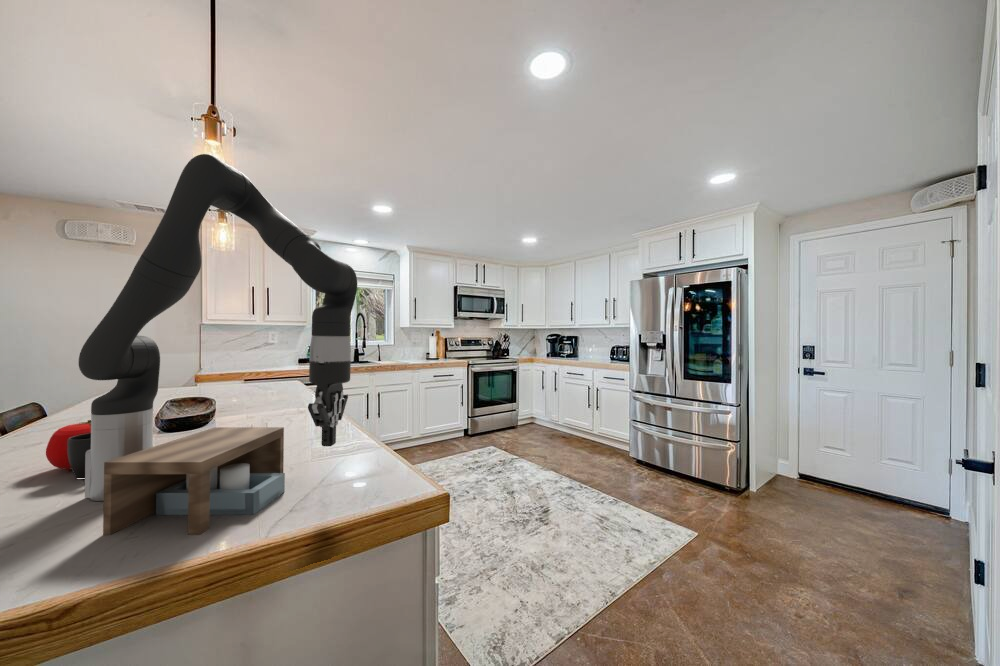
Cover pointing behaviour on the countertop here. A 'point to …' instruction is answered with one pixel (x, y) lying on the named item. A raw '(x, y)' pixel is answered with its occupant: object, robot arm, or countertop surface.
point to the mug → (78, 453)
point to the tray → (226, 492)
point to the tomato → (64, 443)
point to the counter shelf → (185, 472)
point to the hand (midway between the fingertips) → (328, 445)
